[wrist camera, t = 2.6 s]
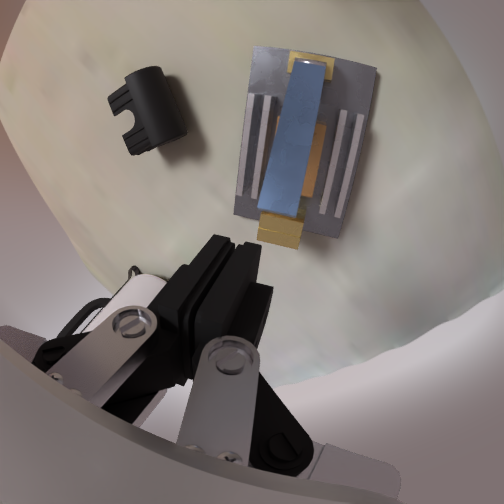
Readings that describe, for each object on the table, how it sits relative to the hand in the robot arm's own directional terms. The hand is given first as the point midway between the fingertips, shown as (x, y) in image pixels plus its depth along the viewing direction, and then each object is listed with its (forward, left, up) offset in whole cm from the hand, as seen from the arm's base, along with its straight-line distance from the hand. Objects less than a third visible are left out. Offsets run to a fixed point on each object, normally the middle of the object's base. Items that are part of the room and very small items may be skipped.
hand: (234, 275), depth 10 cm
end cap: (-3, -19, -28) cm, 34 cm away
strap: (-3, 0, -17) cm, 18 cm away
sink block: (-1, 0, -28) cm, 28 cm away
